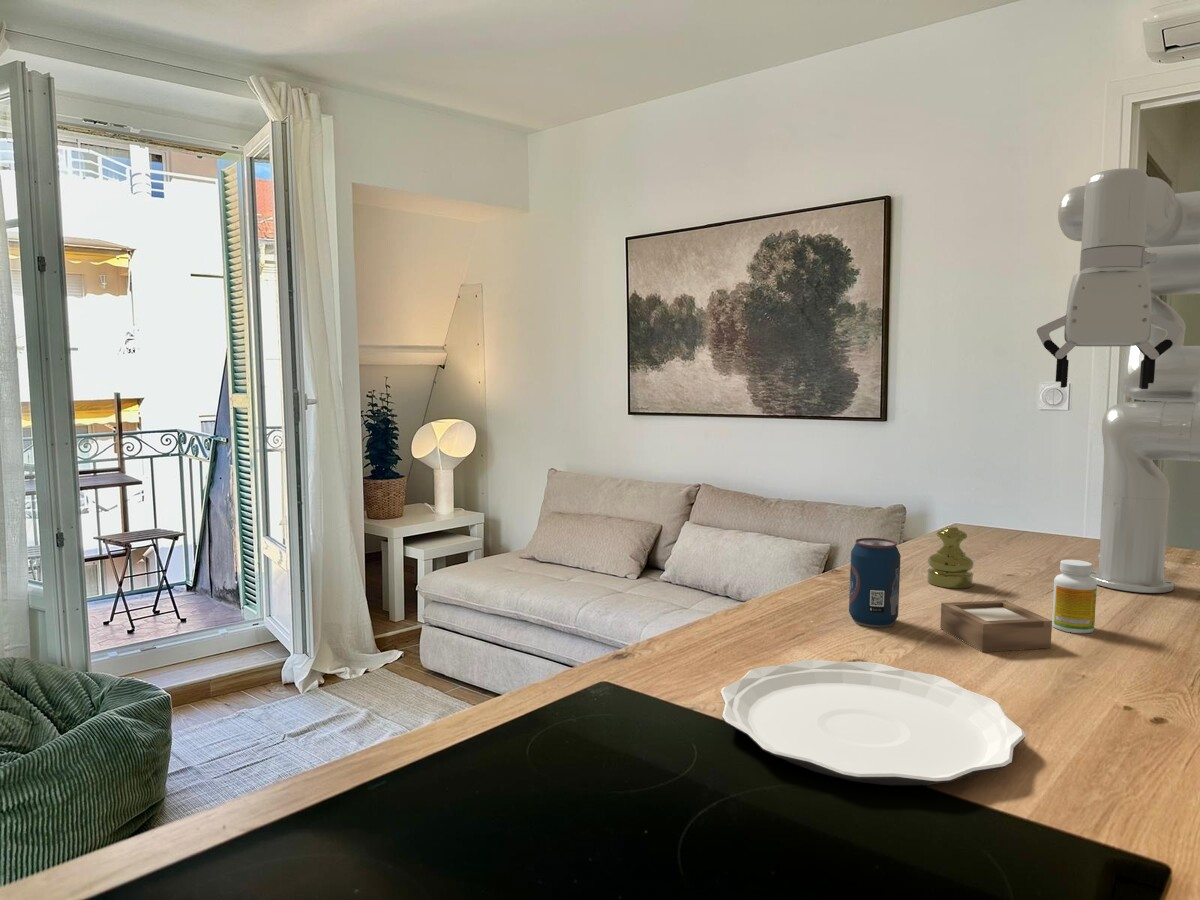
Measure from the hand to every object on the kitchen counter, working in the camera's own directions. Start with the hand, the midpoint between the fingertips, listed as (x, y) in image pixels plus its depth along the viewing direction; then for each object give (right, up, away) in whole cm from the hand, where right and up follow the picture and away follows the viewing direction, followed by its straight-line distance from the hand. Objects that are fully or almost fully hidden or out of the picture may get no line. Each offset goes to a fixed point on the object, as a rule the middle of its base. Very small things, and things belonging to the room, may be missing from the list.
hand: (1102, 388), depth 117 cm
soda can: (-30, -34, +7) cm, 46 cm away
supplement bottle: (-2, -35, +4) cm, 35 cm away
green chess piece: (-9, -32, +29) cm, 44 cm away
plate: (-43, -38, -30) cm, 64 cm away
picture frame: (-15, -35, 0) cm, 38 cm away
